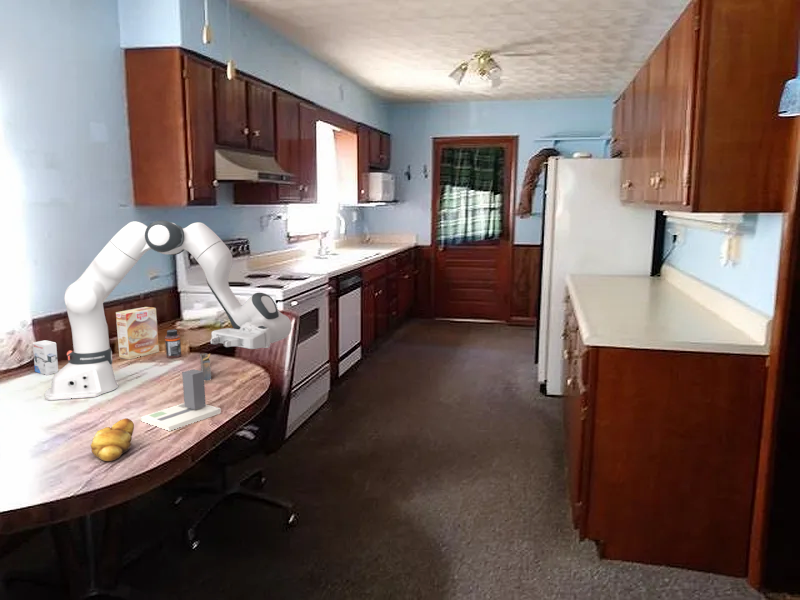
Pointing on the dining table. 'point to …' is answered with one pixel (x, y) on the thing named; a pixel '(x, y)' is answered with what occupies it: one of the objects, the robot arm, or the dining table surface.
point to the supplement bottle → (172, 344)
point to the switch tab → (194, 389)
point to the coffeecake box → (137, 332)
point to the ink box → (45, 357)
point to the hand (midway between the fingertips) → (218, 343)
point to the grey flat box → (205, 366)
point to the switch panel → (179, 416)
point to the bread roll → (113, 440)
